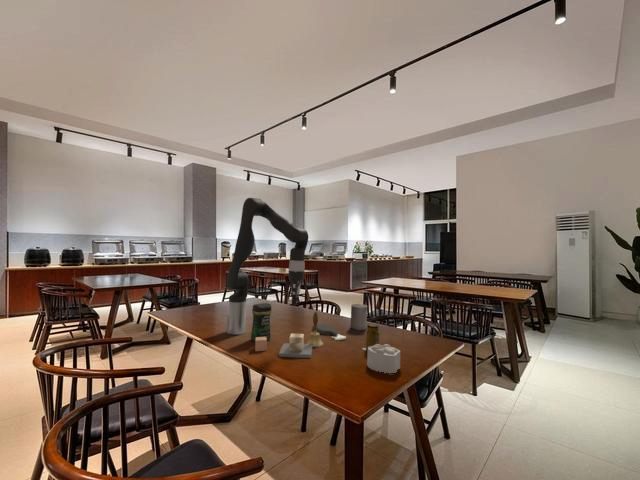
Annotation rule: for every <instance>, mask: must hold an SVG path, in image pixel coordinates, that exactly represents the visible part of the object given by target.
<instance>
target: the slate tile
mask: <svg viewBox="0 0 640 480" xmlns="http://www.w3.org/2000/svg"><path fill="white" fill-rule="evenodd" d="M312 345H313V344H307V343H304V347H303V351H289V343H285V342H283V344H282V346H281V348H280V350H279V351H278V352H279V353H278V358H295V359H297V358H300V359H301V358H303V359H311V358H312V353H313V347H312Z"/></svg>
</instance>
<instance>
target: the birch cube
mask: <svg viewBox="0 0 640 480" xmlns="http://www.w3.org/2000/svg"><path fill="white" fill-rule="evenodd" d="M304 336H305V334H304V333H290V336H289V351H303V347H304V344H305V343H304V341H305V337H304Z"/></svg>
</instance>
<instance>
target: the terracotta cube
mask: <svg viewBox="0 0 640 480" xmlns="http://www.w3.org/2000/svg"><path fill="white" fill-rule="evenodd" d="M267 341H268V340H267V338H266V337H256V338H255V341H254V342H255V346H254V350H255V352H266V351H267V348H268V347H267V346H268V343H267Z"/></svg>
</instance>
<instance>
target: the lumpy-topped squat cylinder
mask: <svg viewBox="0 0 640 480" xmlns="http://www.w3.org/2000/svg"><path fill="white" fill-rule="evenodd" d="M366 360H367V361H366V362H367V363H366V366H367V368H369V369H370V370H372V371H374V370H375V371H374V372H378V371H379V373H381V372H384V373H383V374H386V373H389V374H388V375H391V374H390V373H396V372H398V371H399V370H398V369H401V350H400V349H398V348H396V347H392V346H391V345H390V344H387V343H385V344H376V345H374V346H370V347H368V352H367V359H366ZM397 370H398V371H397ZM396 374H397V373H396Z"/></svg>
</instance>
